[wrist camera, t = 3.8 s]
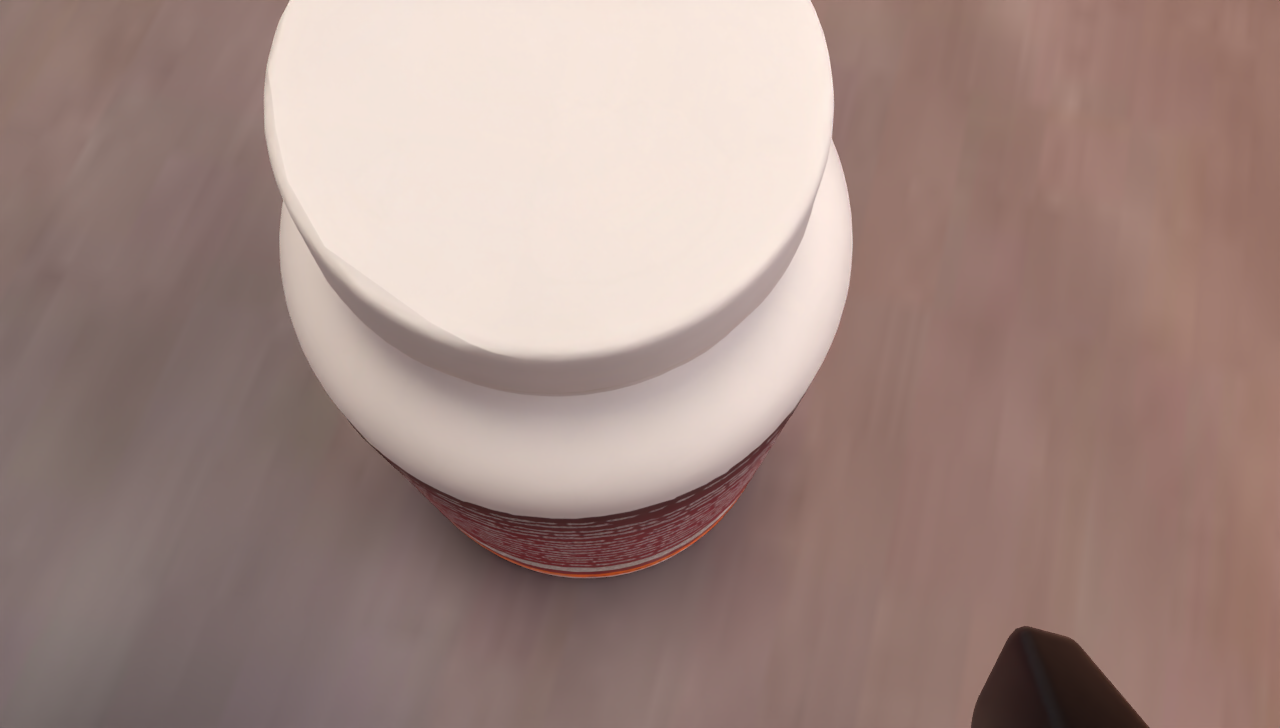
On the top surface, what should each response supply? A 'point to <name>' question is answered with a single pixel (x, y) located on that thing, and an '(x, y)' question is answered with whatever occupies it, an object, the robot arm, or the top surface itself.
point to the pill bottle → (562, 252)
